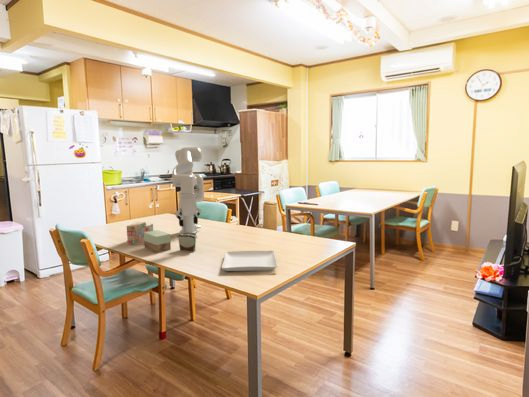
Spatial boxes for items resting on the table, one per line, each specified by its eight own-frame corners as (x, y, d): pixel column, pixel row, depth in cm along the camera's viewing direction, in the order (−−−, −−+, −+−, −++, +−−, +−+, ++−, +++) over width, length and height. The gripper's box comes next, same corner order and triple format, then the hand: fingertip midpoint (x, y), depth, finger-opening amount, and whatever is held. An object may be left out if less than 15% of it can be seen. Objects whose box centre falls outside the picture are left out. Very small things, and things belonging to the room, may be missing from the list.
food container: (201, 249, 202) (200, 233, 201) (196, 252, 197) (195, 235, 195) (183, 247, 206) (182, 231, 205) (177, 250, 201) (177, 233, 199)
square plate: (274, 256, 189) (274, 249, 189) (277, 273, 162) (277, 266, 162) (225, 257, 188) (225, 250, 188) (221, 274, 161) (221, 266, 161)
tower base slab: (158, 245, 212) (157, 237, 212) (170, 250, 202) (170, 242, 201) (144, 248, 206) (144, 240, 205) (156, 253, 196) (156, 245, 195)
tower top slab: (157, 237, 212) (157, 230, 211) (170, 242, 201) (170, 233, 201) (144, 240, 205) (143, 232, 204) (156, 245, 195) (156, 236, 194)
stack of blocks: (145, 236, 235) (144, 219, 233) (153, 236, 234) (153, 219, 232) (127, 244, 214) (126, 225, 212) (136, 245, 213) (135, 226, 211)
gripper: (196, 194, 206) (197, 222, 208) (171, 197, 193) (172, 226, 195) (203, 195, 200) (204, 223, 202) (178, 198, 188) (179, 228, 190)
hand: (188, 225), depth 199 cm, fingers open, 9 cm apart
